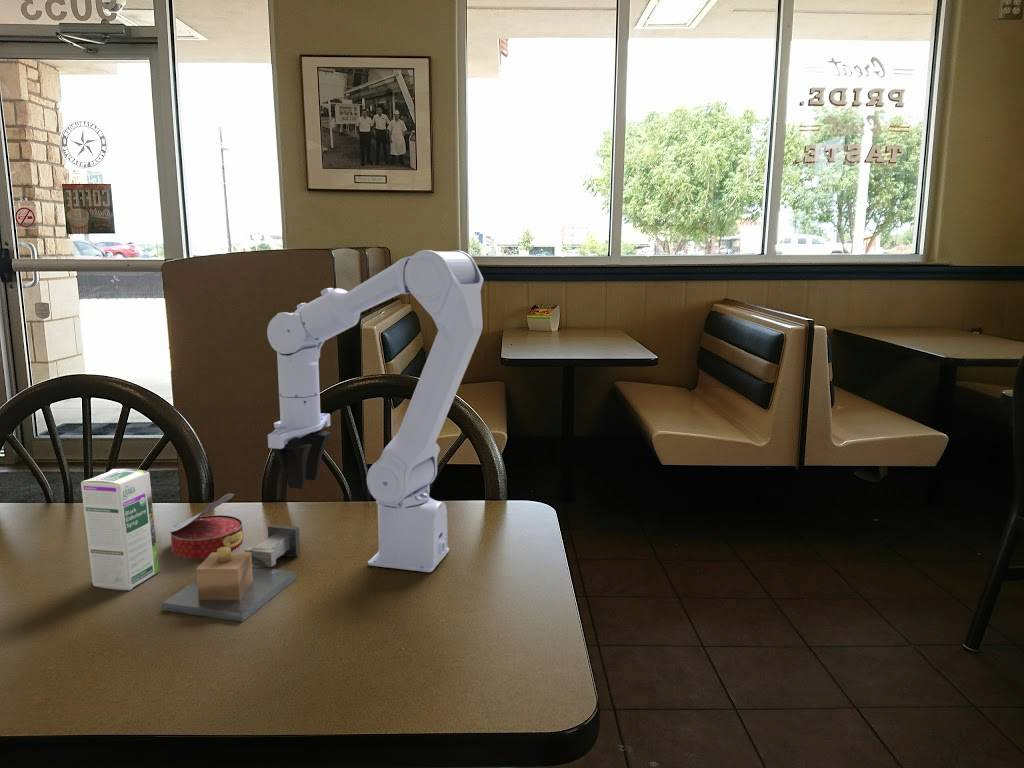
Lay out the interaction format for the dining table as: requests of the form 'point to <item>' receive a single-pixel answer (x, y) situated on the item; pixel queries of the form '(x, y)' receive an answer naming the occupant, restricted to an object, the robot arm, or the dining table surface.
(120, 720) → the dining table surface
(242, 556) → the block
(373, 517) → the dining table surface
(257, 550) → the square end dumbbell
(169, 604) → the grey square baseplate
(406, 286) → the robot arm
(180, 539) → the canned food
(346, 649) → the dining table surface
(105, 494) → the syrup box
